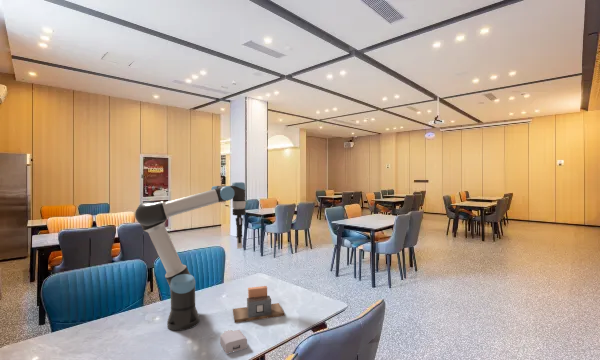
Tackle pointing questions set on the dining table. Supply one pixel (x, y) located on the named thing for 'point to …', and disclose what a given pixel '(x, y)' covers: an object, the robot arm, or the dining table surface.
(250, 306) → the socket
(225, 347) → the charger
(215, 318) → the dining table surface
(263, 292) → the orange block
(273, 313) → the base board
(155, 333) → the dining table surface
